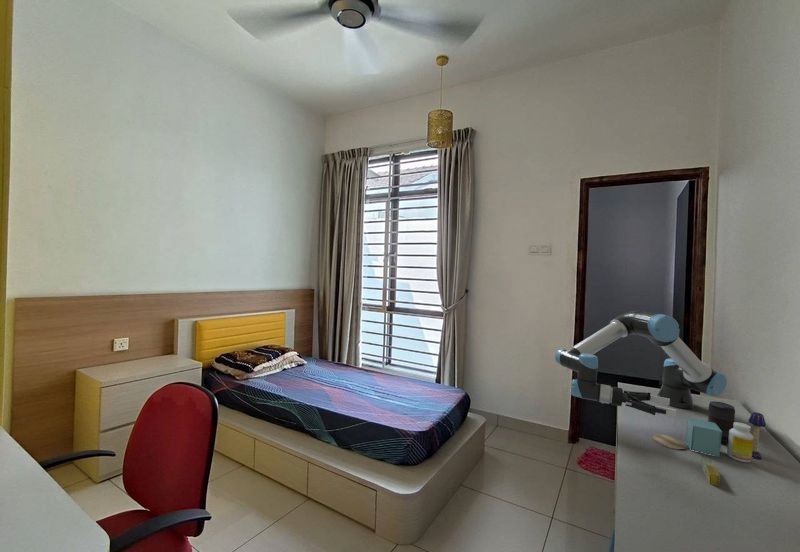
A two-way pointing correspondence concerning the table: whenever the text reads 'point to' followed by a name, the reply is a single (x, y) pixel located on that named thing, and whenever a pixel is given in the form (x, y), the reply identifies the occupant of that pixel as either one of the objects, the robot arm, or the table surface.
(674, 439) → the coaster
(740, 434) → the supplement bottle
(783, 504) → the table surface
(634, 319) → the robot arm
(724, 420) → the camera lens
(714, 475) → the medication box
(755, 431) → the toy lamp
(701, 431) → the teal cube
